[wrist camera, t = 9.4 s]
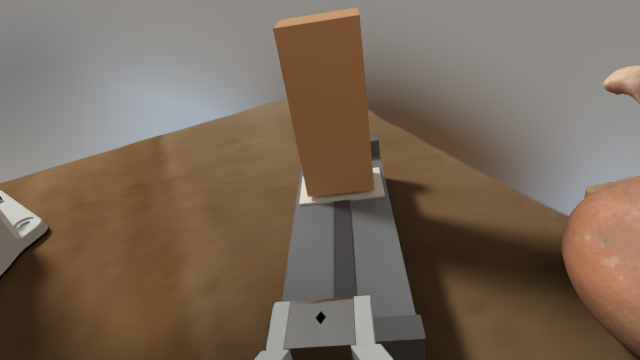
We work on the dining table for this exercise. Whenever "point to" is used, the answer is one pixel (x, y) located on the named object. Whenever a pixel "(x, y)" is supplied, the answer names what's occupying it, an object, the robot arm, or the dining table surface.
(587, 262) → the ceramic jug
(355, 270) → the switch track
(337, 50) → the switch tab
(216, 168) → the dining table surface
